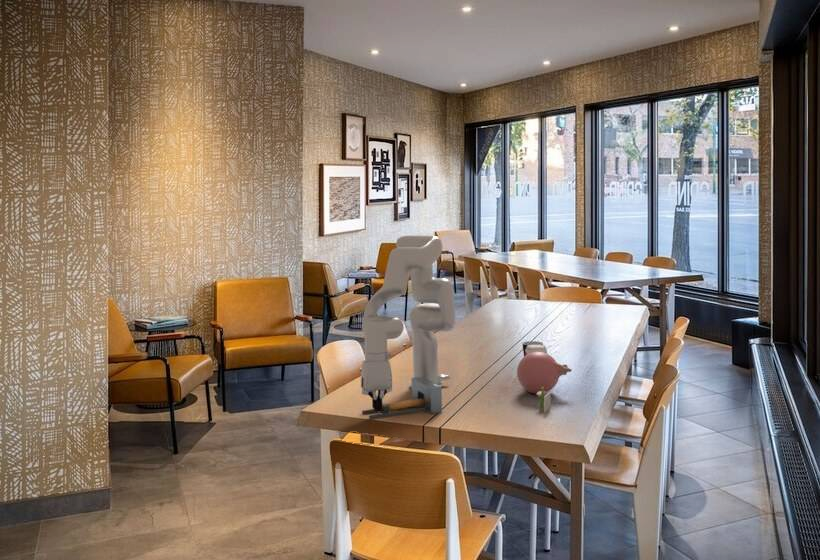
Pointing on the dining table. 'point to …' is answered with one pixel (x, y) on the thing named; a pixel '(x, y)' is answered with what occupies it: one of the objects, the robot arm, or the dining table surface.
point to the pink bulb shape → (540, 372)
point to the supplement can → (535, 348)
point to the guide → (391, 412)
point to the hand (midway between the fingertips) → (377, 409)
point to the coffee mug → (529, 344)
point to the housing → (427, 394)
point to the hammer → (402, 405)
